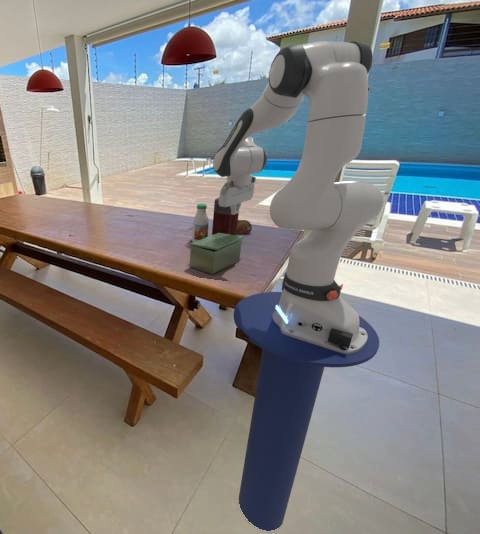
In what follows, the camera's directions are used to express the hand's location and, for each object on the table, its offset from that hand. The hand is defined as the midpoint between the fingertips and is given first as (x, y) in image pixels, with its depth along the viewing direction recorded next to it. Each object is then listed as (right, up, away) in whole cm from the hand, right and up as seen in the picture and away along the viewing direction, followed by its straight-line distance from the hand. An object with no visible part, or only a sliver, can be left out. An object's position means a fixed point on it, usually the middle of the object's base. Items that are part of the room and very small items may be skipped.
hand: (234, 213), depth 129 cm
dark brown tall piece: (+5, -10, +27) cm, 29 cm away
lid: (-7, -12, 0) cm, 14 cm away
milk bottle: (-7, -10, +30) cm, 33 cm away
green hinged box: (-7, -21, +4) cm, 23 cm away
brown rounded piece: (+15, -5, +40) cm, 43 cm away
